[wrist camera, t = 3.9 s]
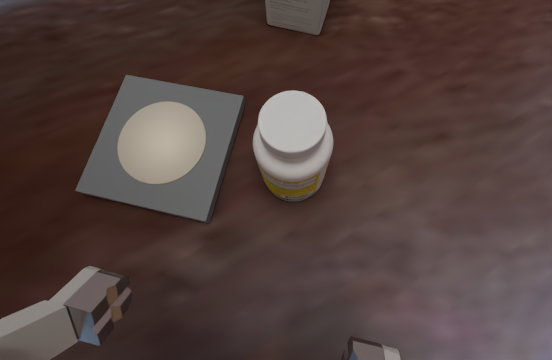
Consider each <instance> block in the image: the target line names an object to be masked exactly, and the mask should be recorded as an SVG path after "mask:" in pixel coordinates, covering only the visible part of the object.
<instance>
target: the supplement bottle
mask: <svg viewBox="0 0 552 360" xmlns="http://www.w3.org/2000/svg"><path fill="white" fill-rule="evenodd" d="M253 149H254V154H255V157H256V160H257V163H258V166H259V168H260V171H261V174H262V177H263V179H264V182H265V184H266V186H267V187H268V189H269V190H270V191H271V192H272V193H273V194H274V195H275V196H277V197H278V198H280V199H283V200H286V201H301V200H304V199H307V198H309V197H310V196H312V195H313V194H314V193H315V192H316V191H317V190H318V189H319V187H320V186H321V184H322V182H323V179H324V176H325V173H326V170H327V166H328V163H329V160H330V157H331V154H332V149H333V135H332V131H331V129H330V126H329V125H328V123H327V117H326V113H325V110H324V108H323V106H322V105H321V103H320V102H319V101H318V100H317V99H316V98H314V97H313V96H311V95H310V94H307V93H305V92H301V91H285V92H281V93H279V94H277V95H275V96H273V97H271V98H270V99H269V100H268V101H267V102H266V103H265V104H264V105H263V107H262V109H261V111H260V113H259V117H258V125H257V127H256V130H255V133H254V137H253Z"/></svg>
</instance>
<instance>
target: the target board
mask: <svg viewBox="0 0 552 360" xmlns="http://www.w3.org/2000/svg"><path fill="white" fill-rule="evenodd" d="M244 107H245V99H244V96H240V95H235V94H229V93H224V92H218V91H213V90H207V89H202V88H196V87H191V86H185V85H179V84H174V83H168V82H163V81H157V80H152V79H146V78H141V77H135V76H130V75H126V76H125V79H124V81H123V83H122V85H121V88H120V90H119V92H118V95H117V97H116V99H115V101H114V104H113V106H112V108H111V110H110V113H109V115H108V117H107V120H106V122H105V124H104V126H103V129H102V131H101V133H100V135H99V138H98V140H97V142H96V145H95V147H94V149H93V151H92V154H91V156H90V158H89V160H88V163H87V165H86V167H85V170H84V172H83V174H82V176H81V179H80V181H79V183H78V185H77V188H76V190H75V191H77V192H80V193H83V194H86V195H91V196H95V197H99V198H103V199H108V200H112V201H116V202H120V203H125V204H129V205H133V206H137V207H141V208H146V209H150V210H154V211H158V212H163V213H167V214H171V215H175V216H179V217H184V218H188V219H192V220H196V221H201V222H205V223H209V224H210V221H211V217H212V214H213V211H214V207H215V204H216V200H217V197H218V194H219V190H220V187H221V184H222V180H223V177H224V174H225V170H226V167H227V164H228V160H229V157H230V154H231V150H232V147H233V144H234V140H235V137H236V134H237V130H238V127H239V124H240V120H241V117H242V113H243V110H244Z"/></svg>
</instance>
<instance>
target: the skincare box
mask: <svg viewBox="0 0 552 360" xmlns="http://www.w3.org/2000/svg"><path fill="white" fill-rule="evenodd" d="M329 3H330V0H265V5H266V17H267V24H269V25H272V26H276V27H281V28H286V29H290V30H295V31H300V32H304V33H309V34H314V35H319V34H320V31H321V29H322V26H323V22H324V19H325V16H326V13H327V10H328V6H329Z"/></svg>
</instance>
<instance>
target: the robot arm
mask: <svg viewBox="0 0 552 360" xmlns="http://www.w3.org/2000/svg"><path fill="white" fill-rule="evenodd" d="M129 284H130V281H129V277H127V276H124V275H120V274H117V273H113V272H110V271H106V270H103V269H100V268H96V267H92V266H88V267H86V268H84V269H83V270H82V271H80V272H79V273H78V274H77V275H76V276H75V277H74V278H73V279H72V280H71V281H70V282H69V283H67V284H66V285H65V286H64V287H63V288H62V289H61V290H60V291H59V292H58V293H57V294H56V295H54V296H53V297H52V298H51V299H50V300H49V301H46V300H44V301H41V302H39V303H37V304H34V305H32V306H30V307H27V308H25V309H23V310H20V311H18V312H16V313H13V314H11V315H9V316H6V317H4V318H2V319H0V360H50V359H52V358H53V357H55V356H56V355H58V354H60V353H61V352H63V351H64V350H66V349H67V348H69V347H70V346H72V345H74V344H75V343H77V342H78V340H80V341H83V342H87V343H91V344H94V345H98V346H101V345H102V344H103V342H104V341H105V340H106V338H107V337H108V336H109V334H110V333H111V332H112V330H113V329H114V322H115V321H117V320H119V319H121V318H122V317H123V316H124V315H125V313H126V312H127V311H128V308H129V306H130V304H131V301H132V292H131V290H130V289H129V288H128V287H127V286H128V285H129ZM341 360H401V359H400V354H399V351H398V350H397V349H396V348H393V347H388V346H384V345H381V344H379V343H375V342H371V341H367V340H363V339H359V338H355V337H350V338H349V340H348V349H346V350H344V353H343V355H342V359H341Z"/></svg>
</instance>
